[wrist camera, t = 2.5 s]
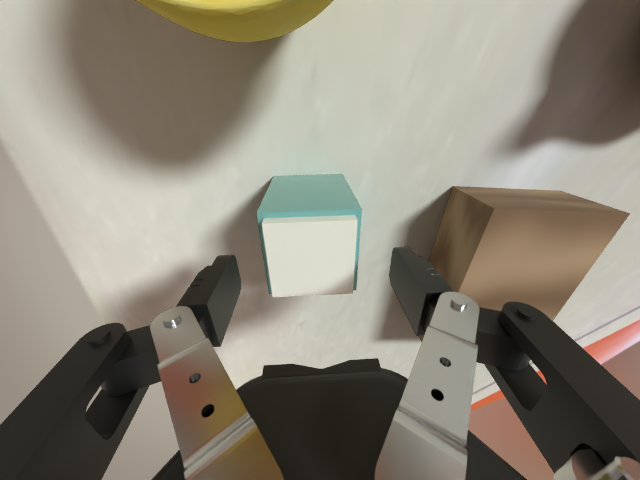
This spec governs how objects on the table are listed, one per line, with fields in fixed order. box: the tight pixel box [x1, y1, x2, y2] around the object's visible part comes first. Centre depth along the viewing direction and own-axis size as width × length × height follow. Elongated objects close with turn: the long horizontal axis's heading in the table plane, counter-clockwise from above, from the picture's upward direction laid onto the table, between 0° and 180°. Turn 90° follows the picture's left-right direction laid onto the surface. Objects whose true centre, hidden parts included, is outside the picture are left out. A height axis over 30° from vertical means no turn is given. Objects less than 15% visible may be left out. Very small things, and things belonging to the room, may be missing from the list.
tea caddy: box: [257, 174, 362, 297], centre depth 15 cm, size 5×5×8 cm
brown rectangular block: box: [418, 186, 630, 342], centre depth 20 cm, size 14×9×5 cm, turn 177°
